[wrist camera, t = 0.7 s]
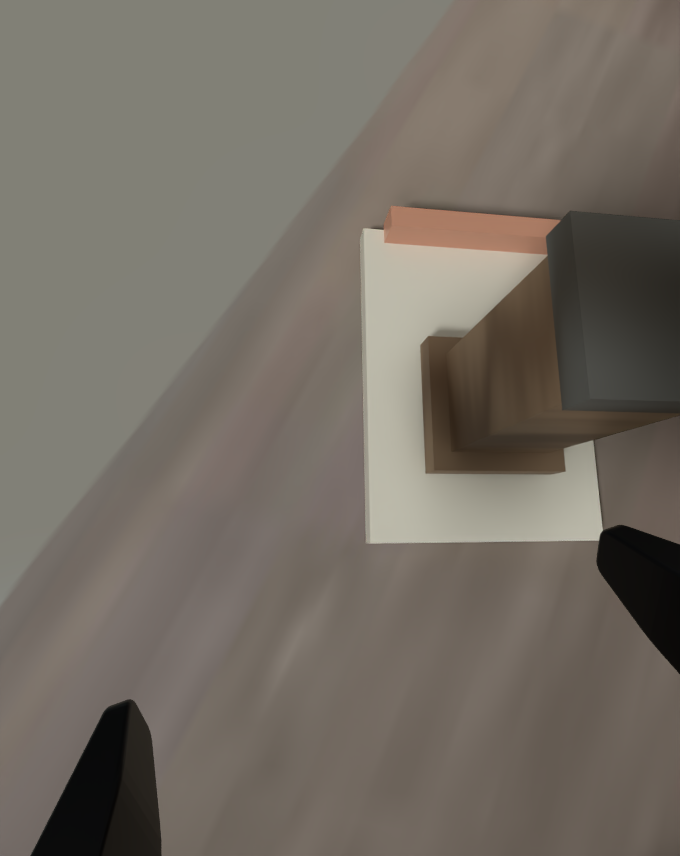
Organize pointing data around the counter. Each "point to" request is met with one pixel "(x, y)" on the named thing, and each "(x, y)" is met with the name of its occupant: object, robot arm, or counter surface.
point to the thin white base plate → (402, 384)
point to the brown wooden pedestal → (561, 352)
